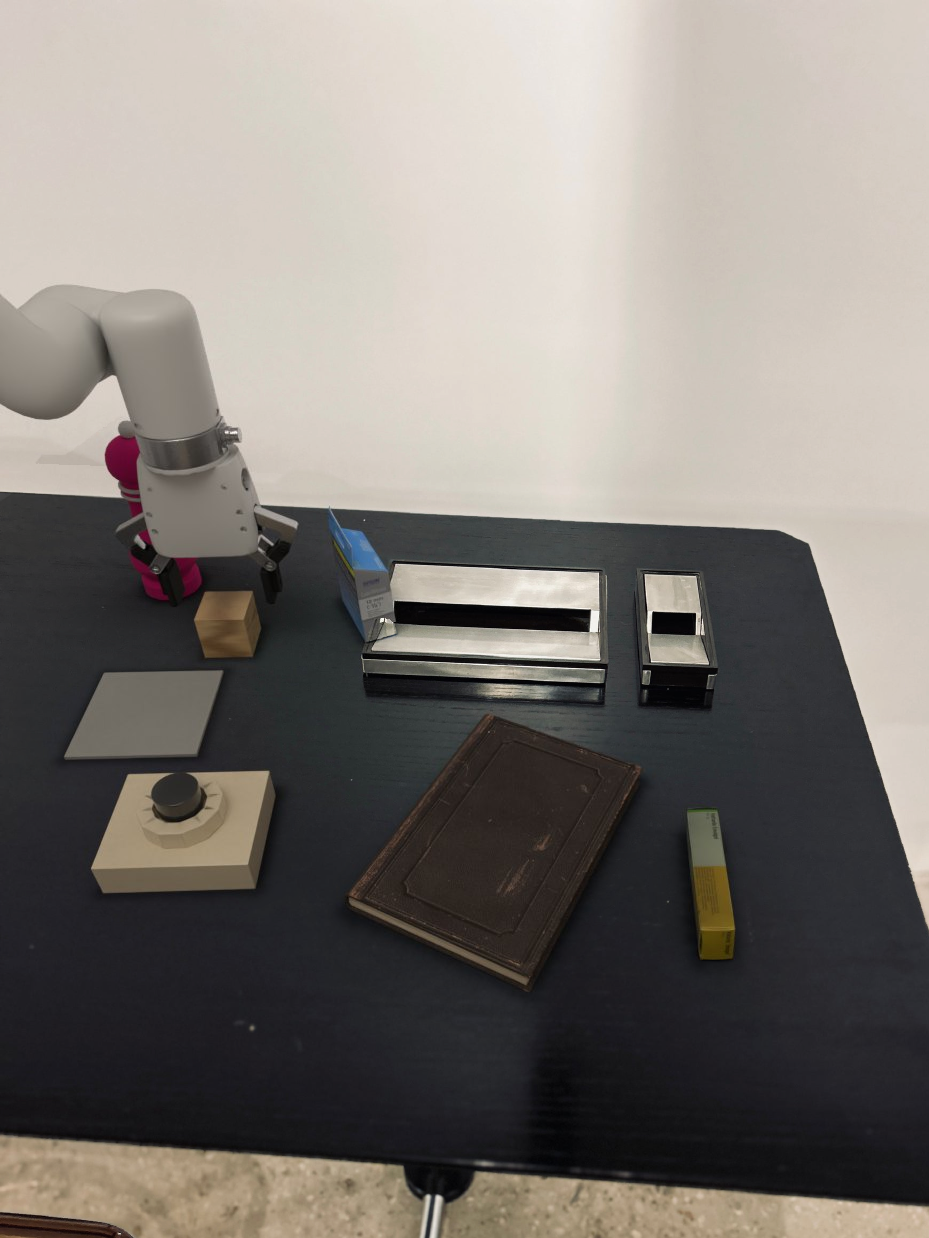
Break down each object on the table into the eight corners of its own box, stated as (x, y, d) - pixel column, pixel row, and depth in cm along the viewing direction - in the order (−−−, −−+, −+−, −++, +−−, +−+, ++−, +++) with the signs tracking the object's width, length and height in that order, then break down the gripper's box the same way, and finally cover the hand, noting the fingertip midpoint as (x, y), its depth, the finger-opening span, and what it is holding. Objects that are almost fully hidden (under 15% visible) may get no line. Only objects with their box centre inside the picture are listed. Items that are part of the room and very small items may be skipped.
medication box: (683, 837, 75) (685, 805, 72) (716, 836, 74) (718, 804, 72) (697, 961, 65) (700, 929, 63) (734, 961, 65) (738, 929, 62)
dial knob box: (103, 893, 69) (83, 854, 66) (138, 798, 77) (121, 759, 74) (255, 889, 70) (243, 849, 67) (275, 795, 77) (265, 755, 74)
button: (152, 823, 69) (145, 806, 68) (164, 789, 72) (157, 772, 70) (198, 822, 69) (192, 805, 68) (208, 788, 72) (202, 771, 70)
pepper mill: (128, 598, 99) (71, 432, 86) (162, 564, 104) (113, 402, 91) (186, 608, 98) (137, 441, 85) (217, 573, 103) (176, 410, 90)
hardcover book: (639, 784, 79) (642, 766, 77) (529, 993, 63) (529, 976, 62) (483, 728, 84) (483, 710, 83) (346, 909, 69) (342, 891, 67)
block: (204, 658, 91) (193, 619, 88) (215, 629, 95) (204, 591, 92) (253, 657, 92) (243, 619, 88) (261, 628, 95) (252, 590, 92)
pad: (65, 759, 80) (63, 756, 80) (105, 675, 89) (104, 672, 89) (197, 756, 81) (196, 753, 80) (224, 673, 90) (223, 670, 89)
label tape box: (398, 635, 95) (389, 538, 87) (362, 645, 93) (349, 547, 85) (373, 593, 101) (361, 497, 92) (338, 601, 99) (324, 505, 91)
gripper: (286, 421, 81) (315, 574, 93) (98, 425, 81) (150, 579, 92) (273, 458, 76) (305, 617, 87) (70, 463, 75) (130, 622, 86)
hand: (226, 597), depth 90 cm, fingers open, 9 cm apart
